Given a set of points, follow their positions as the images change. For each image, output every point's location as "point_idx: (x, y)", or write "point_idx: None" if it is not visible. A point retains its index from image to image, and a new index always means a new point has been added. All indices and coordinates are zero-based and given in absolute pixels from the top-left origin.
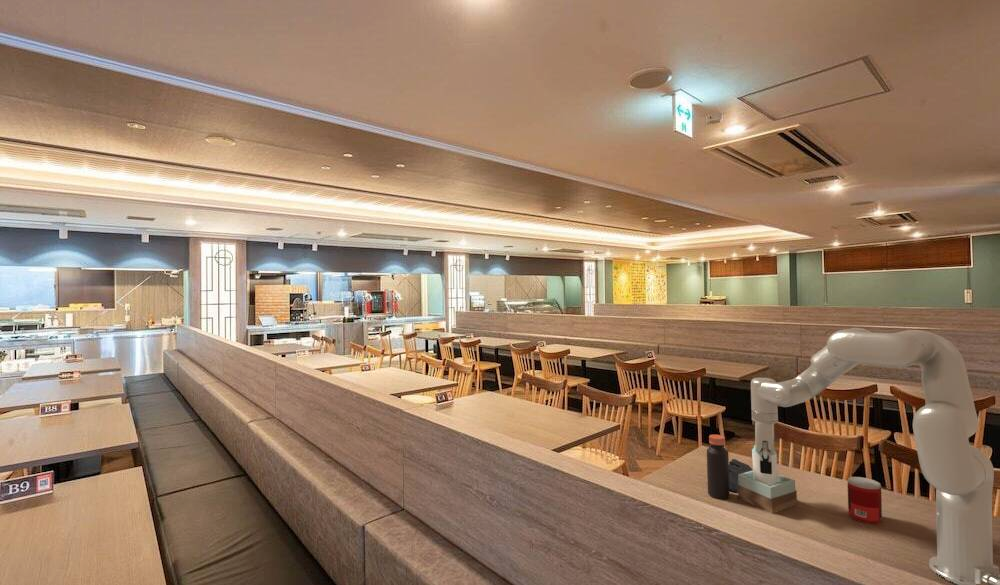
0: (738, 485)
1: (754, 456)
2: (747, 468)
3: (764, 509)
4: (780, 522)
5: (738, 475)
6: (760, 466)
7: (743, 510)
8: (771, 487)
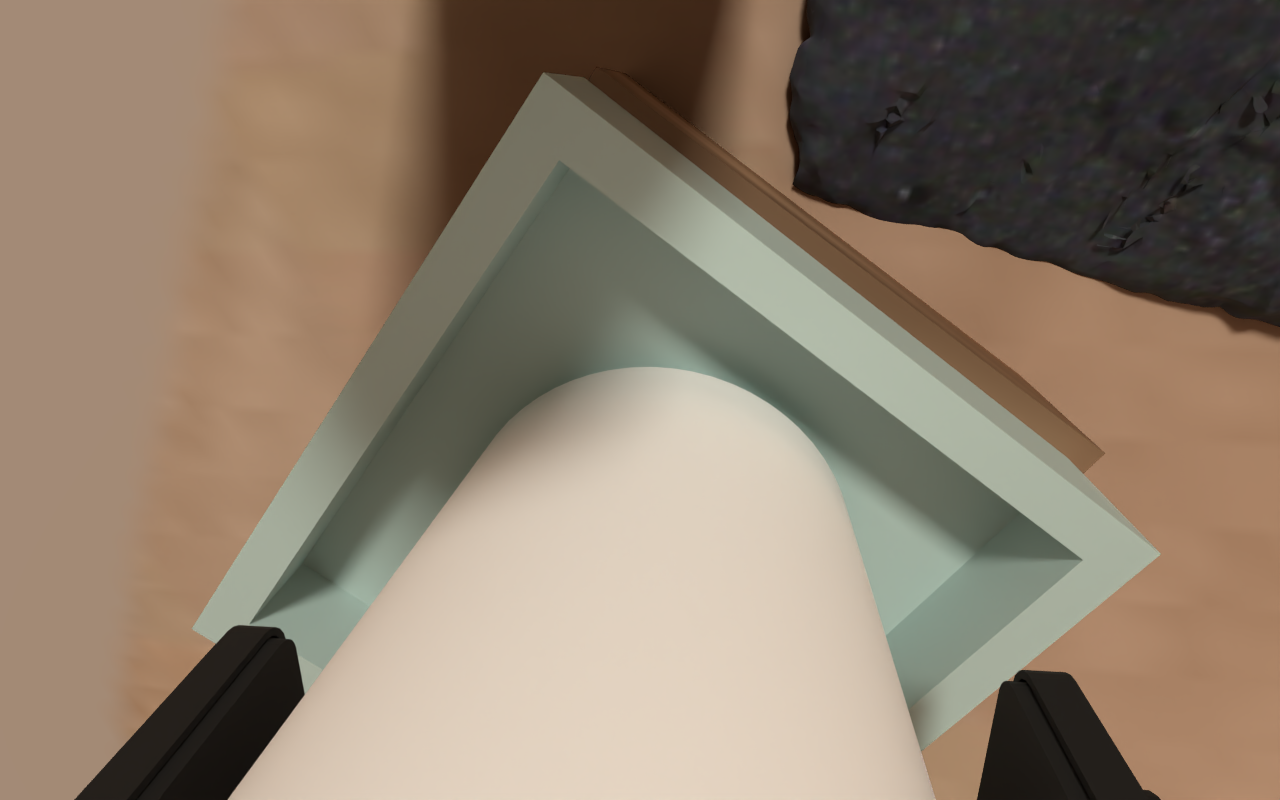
0: (591, 78)
1: (255, 788)
2: None
3: None
4: (217, 513)
5: (546, 81)
6: (139, 735)
7: (275, 157)
8: (212, 641)
